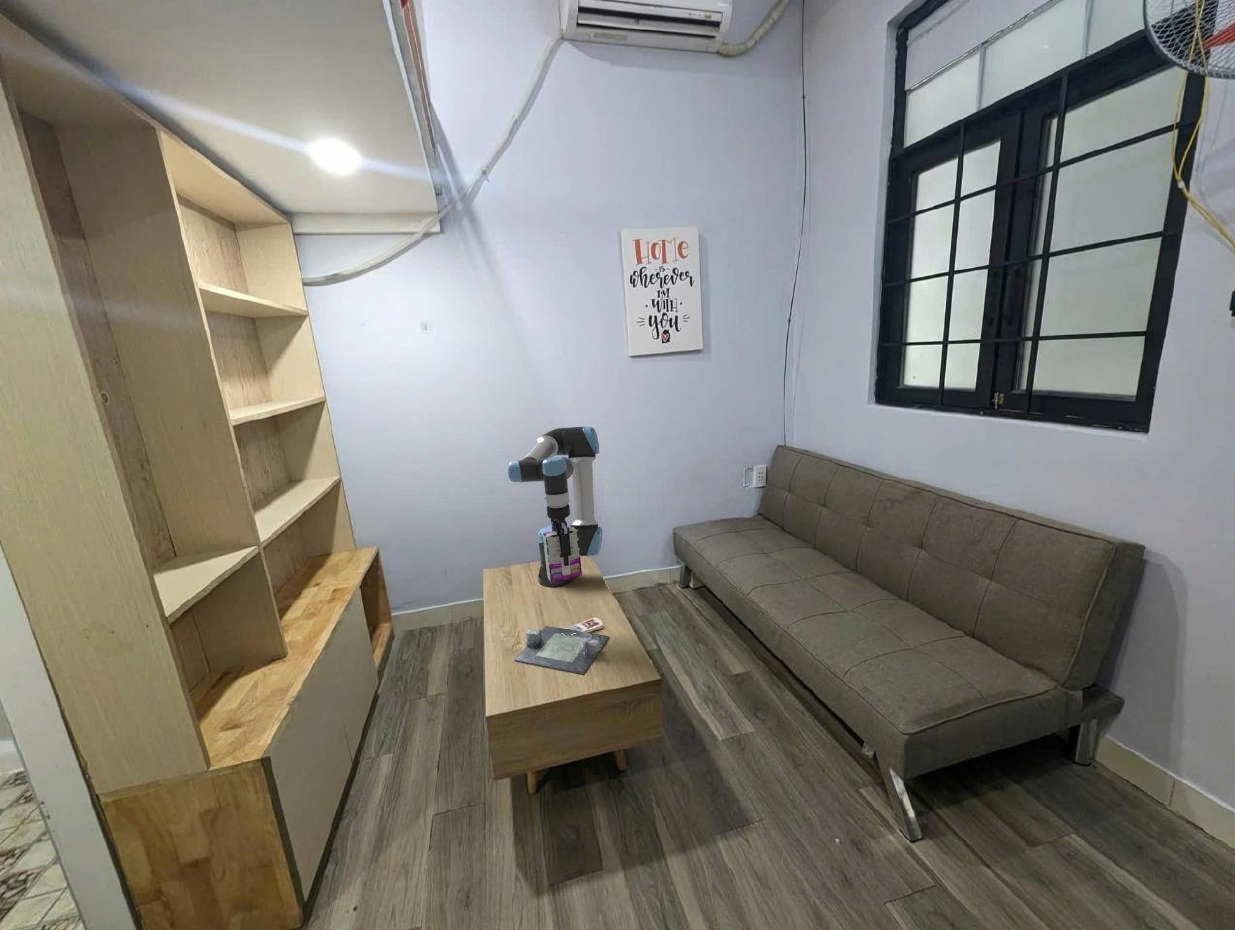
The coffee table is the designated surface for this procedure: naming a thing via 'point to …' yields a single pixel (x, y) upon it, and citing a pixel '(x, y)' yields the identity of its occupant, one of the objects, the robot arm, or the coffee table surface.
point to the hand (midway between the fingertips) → (564, 570)
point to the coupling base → (561, 649)
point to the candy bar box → (554, 554)
